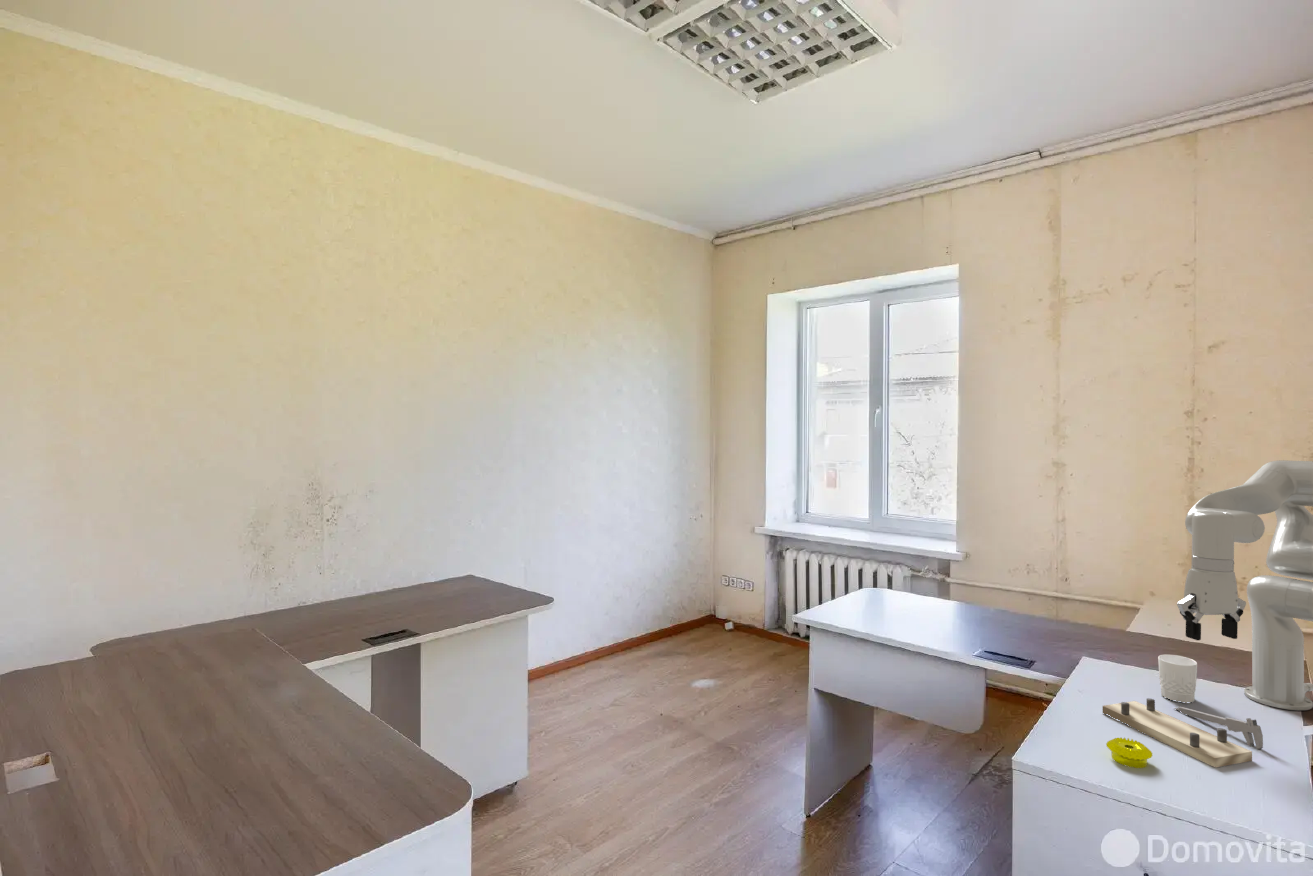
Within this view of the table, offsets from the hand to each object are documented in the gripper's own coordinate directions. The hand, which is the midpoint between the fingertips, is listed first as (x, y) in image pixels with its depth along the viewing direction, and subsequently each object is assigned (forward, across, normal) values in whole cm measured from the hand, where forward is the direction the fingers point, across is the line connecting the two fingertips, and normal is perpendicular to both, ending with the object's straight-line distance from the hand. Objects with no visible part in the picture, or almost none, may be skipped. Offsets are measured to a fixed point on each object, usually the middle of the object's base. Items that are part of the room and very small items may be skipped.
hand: (1211, 637), depth 151 cm
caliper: (+22, -1, 0) cm, 22 cm away
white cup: (+21, -8, -15) cm, 27 cm away
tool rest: (+21, +12, +2) cm, 25 cm away
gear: (+22, +30, +9) cm, 39 cm away
